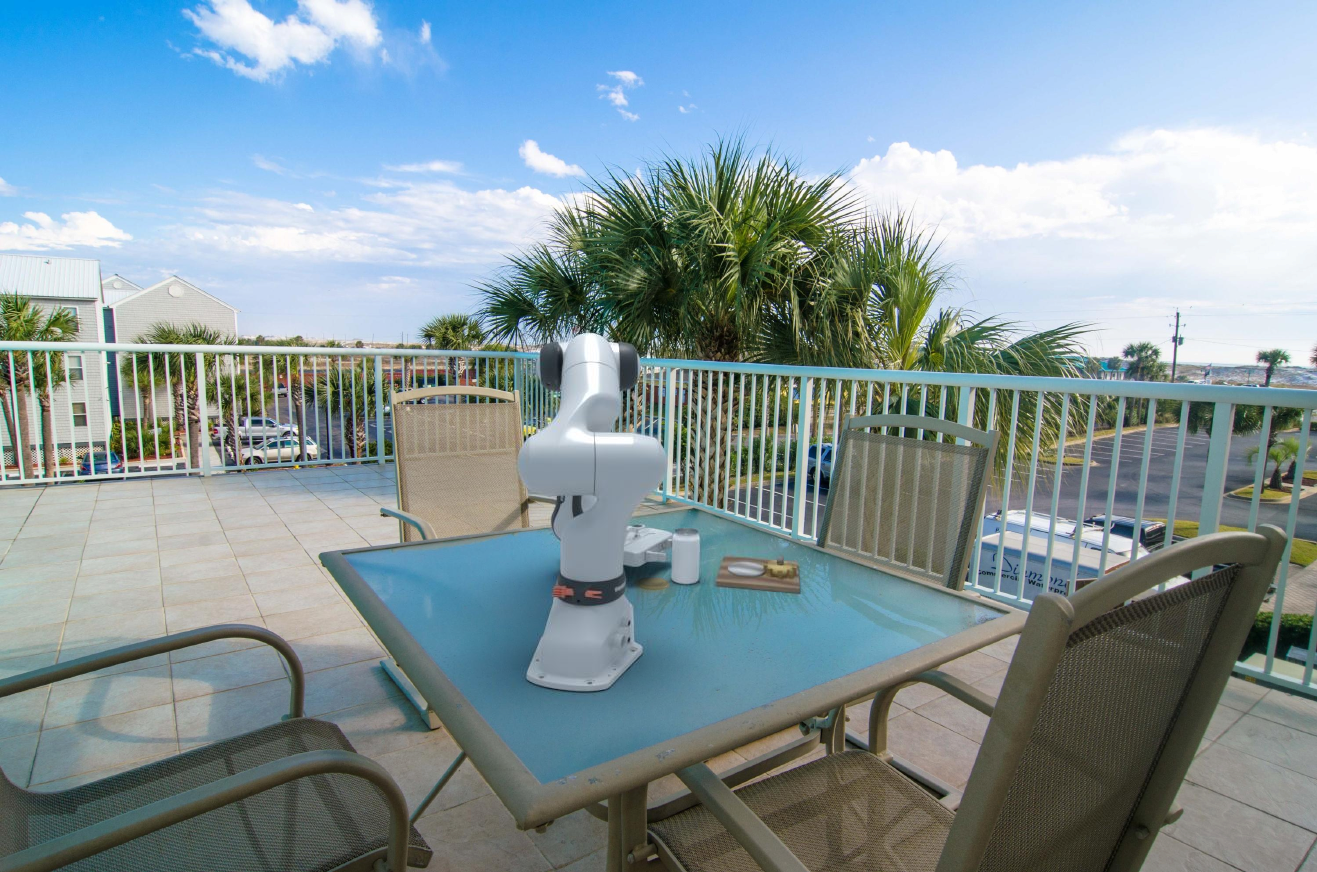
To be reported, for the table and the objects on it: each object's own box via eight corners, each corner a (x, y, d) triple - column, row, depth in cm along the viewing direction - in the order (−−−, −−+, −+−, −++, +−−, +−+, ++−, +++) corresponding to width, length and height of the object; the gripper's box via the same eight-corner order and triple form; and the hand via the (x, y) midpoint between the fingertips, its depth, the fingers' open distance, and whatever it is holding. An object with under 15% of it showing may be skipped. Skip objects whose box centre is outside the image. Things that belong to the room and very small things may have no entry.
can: (699, 576, 156) (700, 528, 154) (698, 585, 149) (699, 535, 148) (672, 575, 156) (673, 526, 155) (670, 584, 150) (671, 533, 148)
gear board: (799, 593, 146) (800, 569, 145) (715, 585, 149) (716, 562, 149) (797, 566, 165) (798, 545, 165) (723, 560, 169) (724, 539, 168)
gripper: (602, 541, 149) (656, 550, 143) (642, 522, 168) (691, 529, 162) (602, 567, 150) (655, 577, 144) (642, 546, 168) (691, 554, 162)
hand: (675, 552), depth 153 cm, fingers open, 8 cm apart
